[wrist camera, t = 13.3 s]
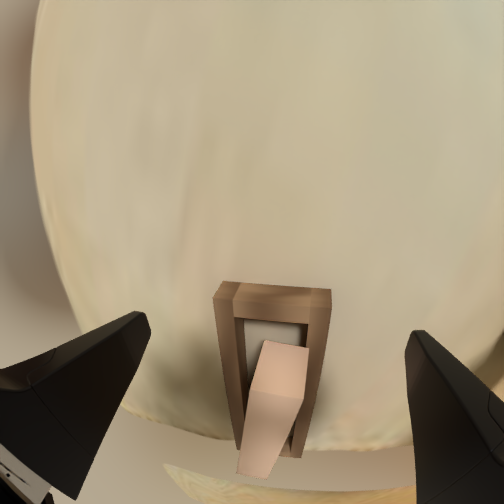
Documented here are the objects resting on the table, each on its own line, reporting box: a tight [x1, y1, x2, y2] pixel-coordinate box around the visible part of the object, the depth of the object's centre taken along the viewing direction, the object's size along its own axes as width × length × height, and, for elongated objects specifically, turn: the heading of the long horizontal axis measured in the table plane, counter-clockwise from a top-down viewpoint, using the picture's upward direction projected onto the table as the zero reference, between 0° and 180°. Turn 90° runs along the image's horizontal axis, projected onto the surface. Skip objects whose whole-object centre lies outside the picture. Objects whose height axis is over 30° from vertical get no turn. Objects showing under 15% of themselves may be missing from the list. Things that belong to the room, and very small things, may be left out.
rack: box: [213, 281, 332, 458], centre depth 26 cm, size 8×25×2 cm, turn 2°
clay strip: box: [236, 340, 309, 479], centre depth 22 cm, size 4×18×5 cm, turn 175°
